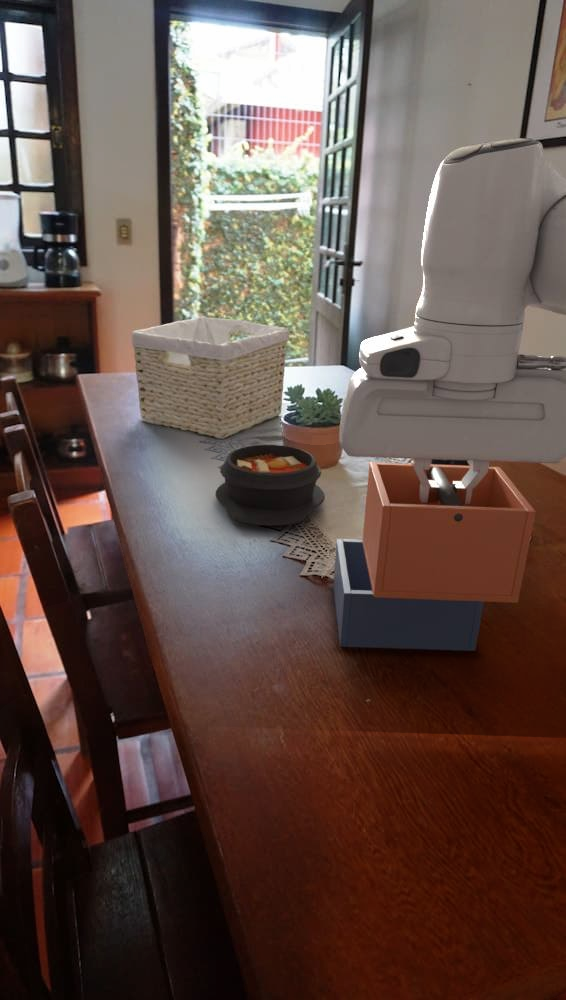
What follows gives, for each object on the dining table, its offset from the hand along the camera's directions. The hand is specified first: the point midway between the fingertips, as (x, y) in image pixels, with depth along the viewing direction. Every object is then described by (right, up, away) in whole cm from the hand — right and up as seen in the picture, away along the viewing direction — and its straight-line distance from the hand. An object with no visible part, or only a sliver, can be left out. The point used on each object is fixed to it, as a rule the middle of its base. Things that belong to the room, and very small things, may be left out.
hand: (443, 501), depth 64 cm
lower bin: (-1, -15, +21) cm, 26 cm away
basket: (-32, +19, +99) cm, 105 cm away
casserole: (-17, -1, +54) cm, 56 cm away
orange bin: (0, -7, +3) cm, 7 cm away
